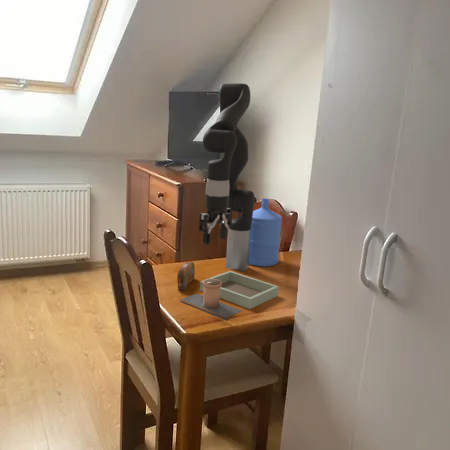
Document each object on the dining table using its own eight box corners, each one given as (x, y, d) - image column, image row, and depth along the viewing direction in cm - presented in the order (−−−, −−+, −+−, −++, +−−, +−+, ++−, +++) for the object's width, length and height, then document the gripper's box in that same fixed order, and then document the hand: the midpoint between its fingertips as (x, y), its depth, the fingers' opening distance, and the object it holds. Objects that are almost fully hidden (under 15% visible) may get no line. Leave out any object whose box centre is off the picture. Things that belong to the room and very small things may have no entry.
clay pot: (209, 299, 164) (211, 277, 162) (224, 305, 160) (225, 282, 158) (197, 304, 159) (198, 281, 157) (212, 310, 155) (213, 286, 153)
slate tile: (196, 296, 169) (196, 293, 168) (241, 313, 157) (242, 310, 156) (180, 302, 162) (180, 299, 162) (226, 320, 150) (226, 317, 150)
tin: (183, 294, 169) (184, 271, 167) (175, 293, 170) (176, 270, 168) (194, 280, 184) (196, 259, 182) (187, 279, 184) (188, 258, 182)
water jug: (268, 269, 202) (274, 204, 196) (236, 261, 210) (240, 198, 203) (283, 261, 215) (289, 199, 209) (252, 253, 223) (257, 194, 216)
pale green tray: (229, 281, 185) (230, 270, 183) (277, 298, 171) (278, 286, 170) (199, 293, 171) (200, 281, 170) (249, 311, 158) (250, 299, 157)
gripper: (222, 188, 162) (219, 234, 166) (193, 193, 151) (192, 243, 155) (239, 192, 158) (236, 239, 162) (212, 197, 147) (209, 248, 151)
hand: (214, 241), depth 159 cm, fingers open, 8 cm apart
